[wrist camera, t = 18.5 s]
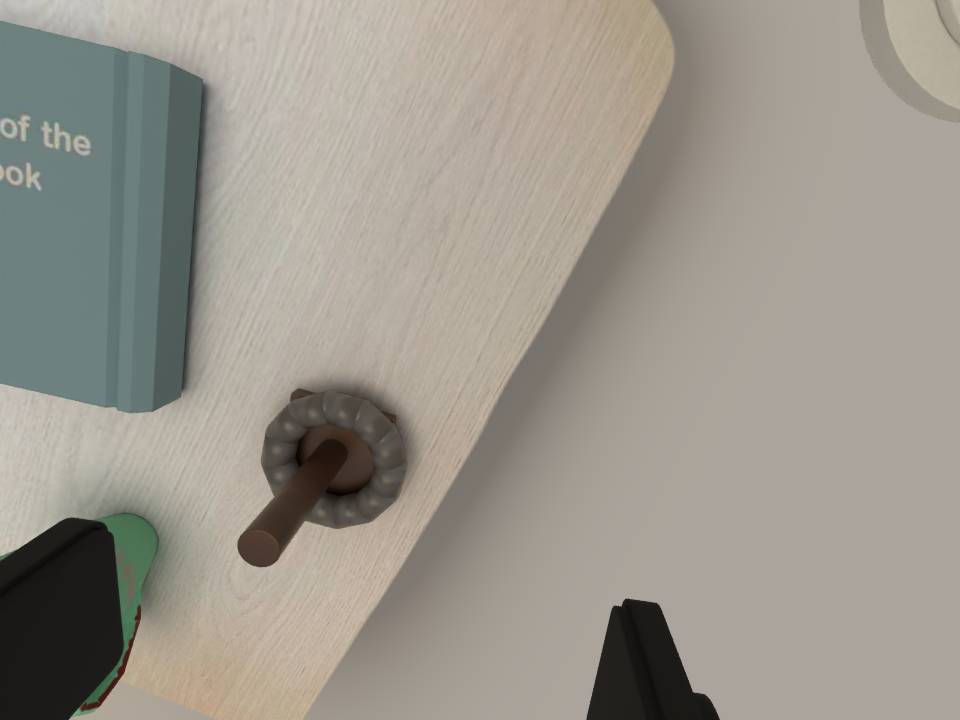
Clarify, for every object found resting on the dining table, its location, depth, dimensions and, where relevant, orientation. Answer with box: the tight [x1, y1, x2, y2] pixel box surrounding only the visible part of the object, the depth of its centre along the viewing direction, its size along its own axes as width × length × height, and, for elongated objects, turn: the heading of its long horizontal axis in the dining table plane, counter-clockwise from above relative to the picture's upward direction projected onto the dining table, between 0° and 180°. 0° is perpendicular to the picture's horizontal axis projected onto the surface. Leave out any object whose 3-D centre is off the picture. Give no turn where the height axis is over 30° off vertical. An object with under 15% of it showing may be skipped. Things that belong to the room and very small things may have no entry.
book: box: [0, 21, 203, 413], centre depth 34 cm, size 23×16×5 cm
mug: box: [0, 513, 158, 717], centre depth 39 cm, size 15×10×10 cm
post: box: [238, 389, 396, 567], centre depth 34 cm, size 8×8×13 cm
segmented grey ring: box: [261, 391, 407, 529], centre depth 38 cm, size 11×11×2 cm
